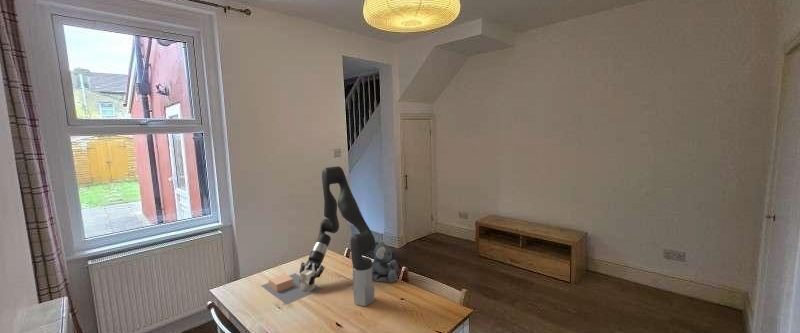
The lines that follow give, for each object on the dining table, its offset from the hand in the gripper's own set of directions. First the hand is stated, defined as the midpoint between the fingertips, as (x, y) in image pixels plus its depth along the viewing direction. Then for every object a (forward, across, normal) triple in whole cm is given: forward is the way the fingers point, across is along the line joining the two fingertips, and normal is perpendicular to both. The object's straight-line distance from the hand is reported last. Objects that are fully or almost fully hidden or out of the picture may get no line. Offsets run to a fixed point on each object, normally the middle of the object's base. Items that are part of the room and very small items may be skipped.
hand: (305, 283), depth 162 cm
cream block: (+1, 0, +4) cm, 4 cm away
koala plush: (-17, +30, +23) cm, 42 cm away
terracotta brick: (+3, -15, +2) cm, 16 cm away
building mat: (+3, -9, +3) cm, 10 cm away
